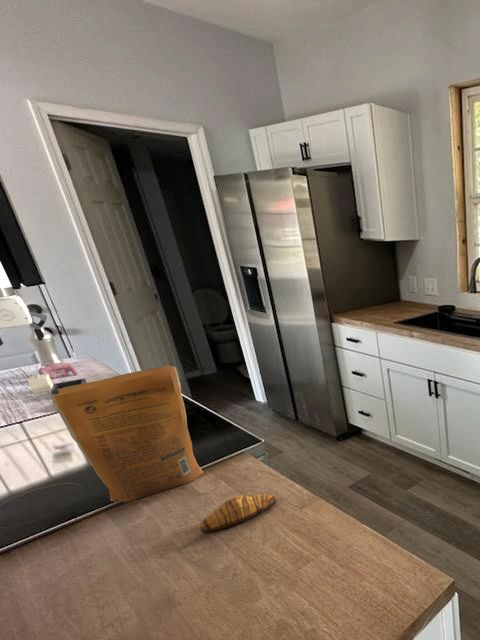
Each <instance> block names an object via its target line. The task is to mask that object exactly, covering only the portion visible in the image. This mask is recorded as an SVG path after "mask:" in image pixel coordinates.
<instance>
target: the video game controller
mask: <svg viewBox="0 0 480 640" xmlns="http://www.w3.org/2000/svg"><path fill="white" fill-rule="evenodd" d="M56 370H61V371H60V372H59V375H60V376H62V377H67V376H69V372H70V373H71V374H73V375H74V376H77V375H78V374H79V373H78V370H77V369H76V368H75V366H74V365H73V364H72V363H69V362H67V361H63V362H57V363H51V364H48V365H45V366H42V367H41V366H40V368H39V369H38V373H39V374H40V375H43V374H49V377H50V379H56V378H57V377H58V372H57V373H55V372H53V371H56Z"/></svg>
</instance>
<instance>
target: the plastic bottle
mask: <svg viewBox="0 0 480 640" xmlns="http://www.w3.org/2000/svg"><path fill="white" fill-rule="evenodd" d="M28 327H29V330H30V331H31V332H30V334H29V336H28V339H29V341H30V343H31V344H32V346H33V348H34V349H35V351H36V352H37V355H38V358H39V362H40V368H41V367H42V366H45V365H48V364H51V363H57V362H64V360H63V359H62V357H61V355H60V353H59V352H58V349H57V346H56V342H55V337H54V335H53V334H52V333H51V332H50V331H48V330H46V329H45V326H44V325H43V326H42V327H41V330H42V332H43V334H44V337H43V339H42V340H38V338H37V336H36V333H35V331H34V330H35V328H33V327H31V326H29V325H28ZM60 371H61V370H56V371H53V372H55V373H57V374H58V373H60Z"/></svg>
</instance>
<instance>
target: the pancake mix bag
mask: <svg viewBox="0 0 480 640" xmlns="http://www.w3.org/2000/svg"><path fill="white" fill-rule="evenodd" d="M58 390H59V393H60V394H58V395H52V394H51V395H50V396H51V401H52V404H53V407H54V409H55V410H56V412H57V413H58V414H59V416H60V417H61V420H62V421H63V423H64V425H65V427H66V429H67V431H68V433H69V434H70V436H71V439H72V440H74V441H75V443H76V444H77V447H78V448H79V450H80V451H81V453H82V454H83V455H84V456H85V458H86V459H87V461H88V462H89V464H90V465H91V466H92V468H93V470H94V471H95V473H96V475H97V476H98V477H99V479H100V480H101V481H102V482H103V484H104V485H105V486H106V487H107V489H108V490H109V498H110V499H109V500H110V502H112V503H113V502H115V503H128V502H133V501H134V502H135V501H137V500H140V499H142V498H145V497H149V496H152V495H155V494H158V493H161V492H164V491H168V490H170V489H174V488H177V487H180V486H183V485H187V484H190V483H191V482H194V481H195V480H197V478H199V477H200V476H201V475H202V474H203V473H204V472H203V470H202V468H201V467H200V466H199V464H198V462H197V460H196V458H195V455H194V452H193V451H194V450H193V442H192V440H191V436H190V432H189V428H188V422H187V421H188V420H187V413H186V408H185V407H186V406H185V402H184V399H183V396H182V386H181V382H180V379H179V374H178V371H177V366H173V365H163V366H157V367H152V368H146V369H142V370H136V371H132V372H126V373H123V374H119V375H115V376H112V377H111V376H110V377H108V378H104V379H99V380H95V381H89V382H88V381H87V383H84V384H79V385H73V386H68V387H64V388H60V389H58ZM116 500H118V501H116ZM121 501H123V502H121Z"/></svg>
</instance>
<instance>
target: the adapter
mask: <svg viewBox="0 0 480 640" xmlns="http://www.w3.org/2000/svg"><path fill="white" fill-rule="evenodd" d="M84 383H88V381H87V379H86V378H79V379H71V380H67V381H61V382H54V383H53V387H52V389H51V391H50V393H51V395H58V394H60V393H59V390H58V389H60V388H64V387H68V386H73V385H79V384H84Z"/></svg>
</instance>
